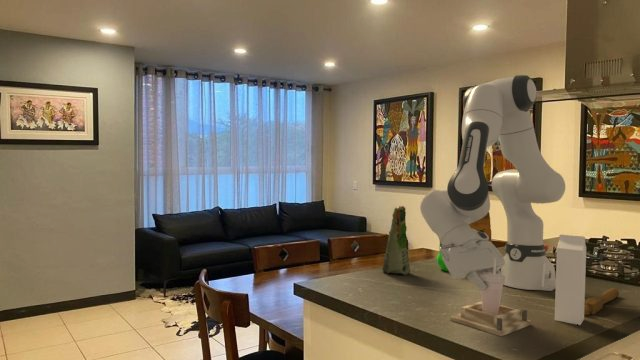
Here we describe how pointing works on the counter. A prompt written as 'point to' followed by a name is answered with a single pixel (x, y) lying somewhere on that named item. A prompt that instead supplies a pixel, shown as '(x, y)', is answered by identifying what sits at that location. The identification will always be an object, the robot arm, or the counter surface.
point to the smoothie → (492, 291)
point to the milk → (570, 279)
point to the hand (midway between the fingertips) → (493, 287)
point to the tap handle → (599, 301)
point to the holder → (492, 319)
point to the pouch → (397, 245)
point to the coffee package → (483, 225)
